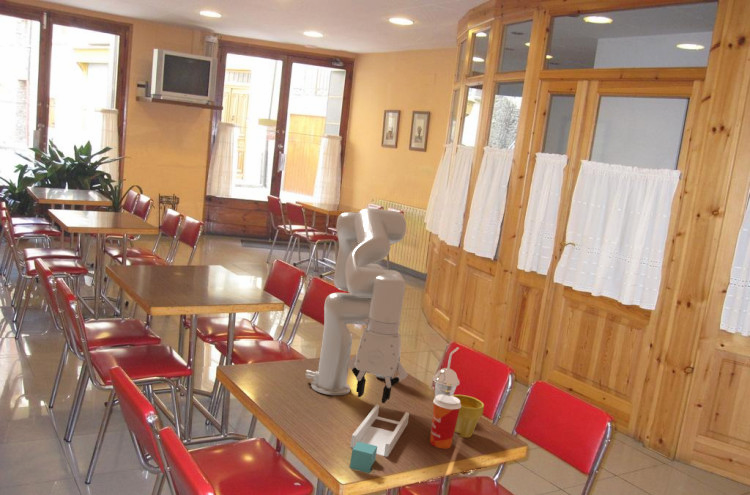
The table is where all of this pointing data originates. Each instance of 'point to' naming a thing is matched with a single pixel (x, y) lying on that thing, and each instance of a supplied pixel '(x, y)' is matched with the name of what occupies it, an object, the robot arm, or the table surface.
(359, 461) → the teal block
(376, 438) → the trap channel
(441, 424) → the paper cup
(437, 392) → the cup with straw
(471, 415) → the plant pot
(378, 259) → the robot arm
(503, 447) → the table surface
